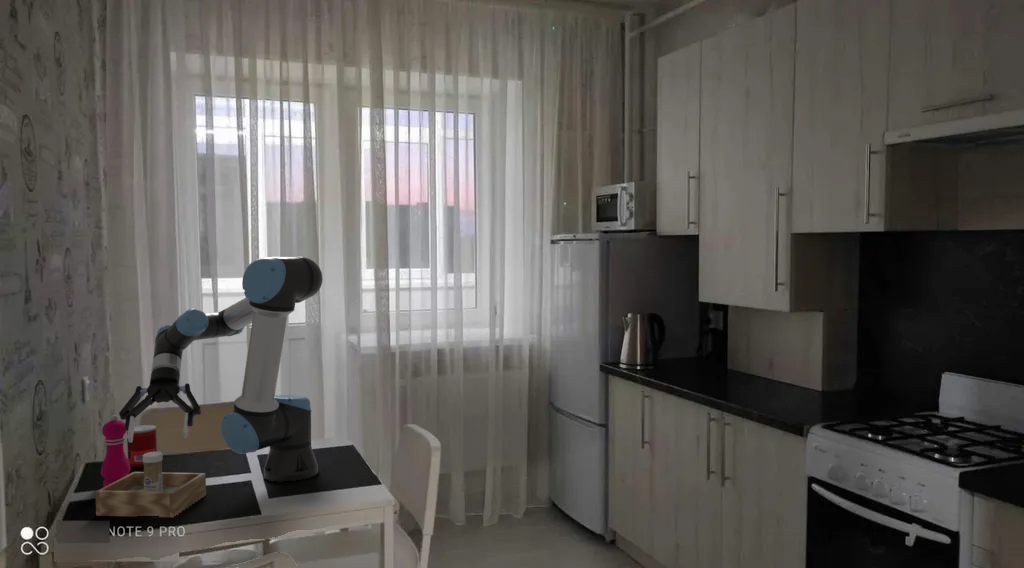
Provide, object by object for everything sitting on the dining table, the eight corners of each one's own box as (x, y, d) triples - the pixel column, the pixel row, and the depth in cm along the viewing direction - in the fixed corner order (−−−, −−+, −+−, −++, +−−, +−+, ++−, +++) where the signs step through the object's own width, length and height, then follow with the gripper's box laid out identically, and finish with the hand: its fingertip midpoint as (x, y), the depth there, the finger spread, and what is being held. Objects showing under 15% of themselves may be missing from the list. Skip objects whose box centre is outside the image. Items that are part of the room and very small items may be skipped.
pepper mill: (118, 490, 198) (115, 418, 197) (95, 489, 200) (92, 417, 199) (136, 482, 206) (134, 412, 205) (114, 480, 207) (112, 411, 206)
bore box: (206, 495, 195) (205, 473, 194) (173, 517, 179) (173, 493, 178) (134, 493, 196) (133, 471, 196) (96, 515, 180) (95, 491, 180)
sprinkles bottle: (140, 508, 185) (139, 456, 184) (149, 501, 190) (147, 451, 189) (159, 507, 185) (157, 455, 185) (166, 501, 190) (165, 450, 189)
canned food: (162, 461, 225) (161, 426, 225) (137, 468, 219) (136, 432, 218) (148, 458, 229) (147, 423, 229) (123, 464, 223) (121, 429, 222)
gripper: (213, 378, 215) (209, 441, 201) (119, 383, 208) (108, 449, 194) (211, 363, 210) (206, 426, 196) (114, 367, 203) (102, 434, 189)
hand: (157, 438), depth 195 cm, fingers open, 13 cm apart
